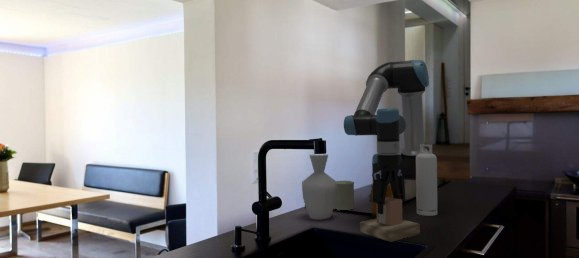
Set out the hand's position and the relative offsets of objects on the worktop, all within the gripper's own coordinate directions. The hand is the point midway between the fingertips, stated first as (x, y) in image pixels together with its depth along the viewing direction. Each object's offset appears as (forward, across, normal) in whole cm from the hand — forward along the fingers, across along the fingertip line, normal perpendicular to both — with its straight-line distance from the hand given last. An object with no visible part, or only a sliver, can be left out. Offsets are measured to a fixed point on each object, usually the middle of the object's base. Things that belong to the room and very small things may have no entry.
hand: (389, 221), depth 134 cm
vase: (+4, -5, +32) cm, 33 cm away
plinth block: (+4, 0, 0) cm, 4 cm away
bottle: (+4, +33, +10) cm, 35 cm away
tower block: (0, 0, 0) cm, 0 cm away
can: (+4, +13, +38) cm, 40 cm away
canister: (+4, +13, +15) cm, 20 cm away
